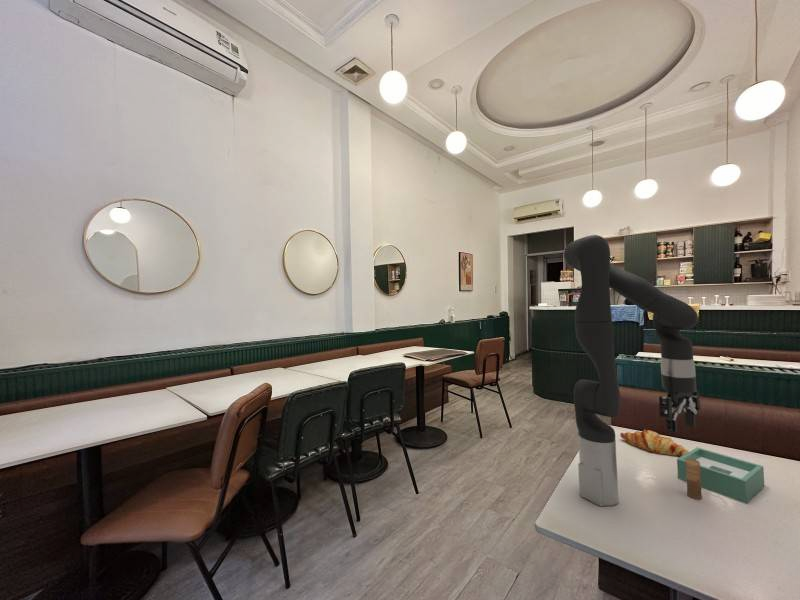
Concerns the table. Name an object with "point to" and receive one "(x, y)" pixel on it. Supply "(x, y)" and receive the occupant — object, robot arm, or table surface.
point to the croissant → (654, 443)
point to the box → (725, 474)
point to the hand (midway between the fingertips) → (681, 429)
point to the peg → (693, 479)
